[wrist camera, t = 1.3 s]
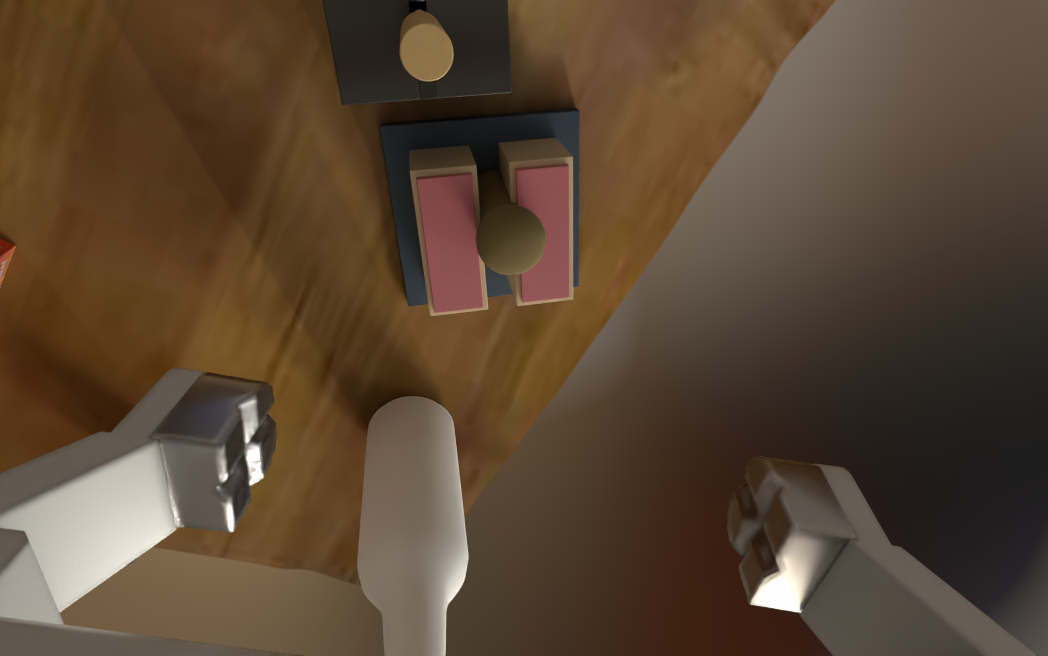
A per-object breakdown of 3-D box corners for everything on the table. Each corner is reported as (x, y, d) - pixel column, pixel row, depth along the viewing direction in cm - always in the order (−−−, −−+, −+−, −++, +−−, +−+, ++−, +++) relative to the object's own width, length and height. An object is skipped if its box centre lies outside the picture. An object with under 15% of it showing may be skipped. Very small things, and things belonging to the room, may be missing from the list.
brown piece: (488, 151, 51) (507, 191, 41) (543, 192, 53) (572, 240, 44) (446, 208, 52) (455, 259, 43) (501, 245, 55) (521, 301, 46)
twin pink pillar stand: (380, 123, 48) (376, 146, 42) (576, 108, 50) (601, 127, 44) (408, 301, 56) (408, 343, 50) (576, 282, 58) (597, 320, 52)
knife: (399, 3, 44) (395, 23, 26) (432, 1, 45) (450, 20, 27) (403, 40, 46) (403, 84, 28) (436, 38, 46) (456, 80, 28)
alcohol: (356, 447, 64) (324, 764, 38) (384, 381, 60) (371, 682, 35) (435, 465, 67) (454, 770, 41) (466, 404, 63) (509, 695, 38)
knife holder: (331, -39, 42) (314, -41, 35) (487, -46, 44) (505, -50, 36) (352, 83, 47) (342, 105, 39) (495, 73, 48) (512, 92, 40)
